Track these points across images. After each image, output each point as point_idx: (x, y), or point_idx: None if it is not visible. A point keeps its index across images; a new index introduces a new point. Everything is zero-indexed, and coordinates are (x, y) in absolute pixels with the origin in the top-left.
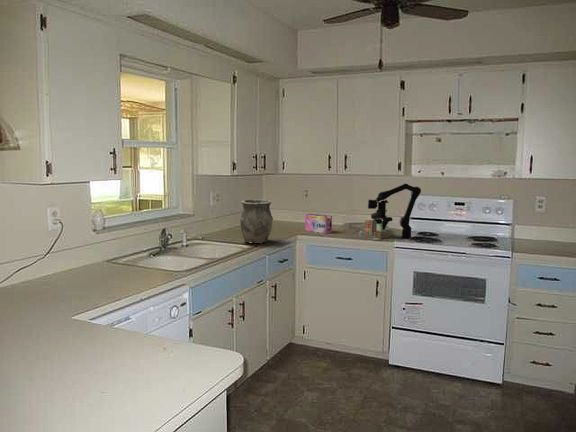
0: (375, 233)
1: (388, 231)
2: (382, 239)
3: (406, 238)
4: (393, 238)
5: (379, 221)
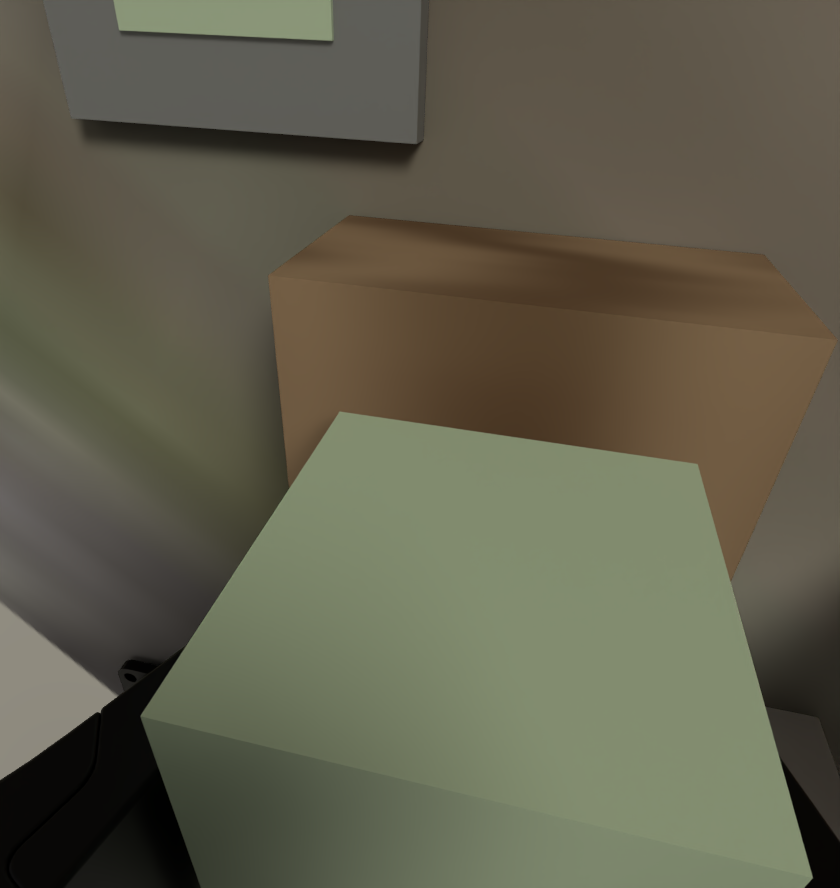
0: (647, 295)
1: None
2: (69, 86)
3: (124, 667)
4: (246, 540)
5: None
